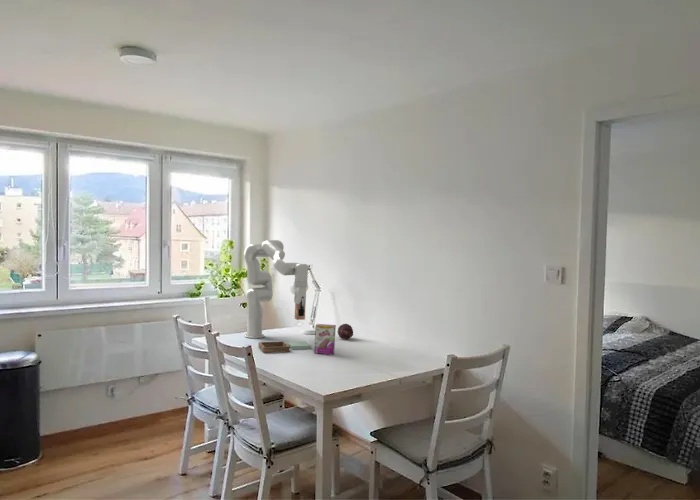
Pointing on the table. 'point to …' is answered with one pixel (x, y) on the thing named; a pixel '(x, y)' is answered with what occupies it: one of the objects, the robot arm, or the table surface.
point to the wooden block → (298, 312)
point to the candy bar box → (325, 339)
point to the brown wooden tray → (273, 347)
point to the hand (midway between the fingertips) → (299, 314)
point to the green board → (299, 345)
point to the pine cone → (345, 331)
